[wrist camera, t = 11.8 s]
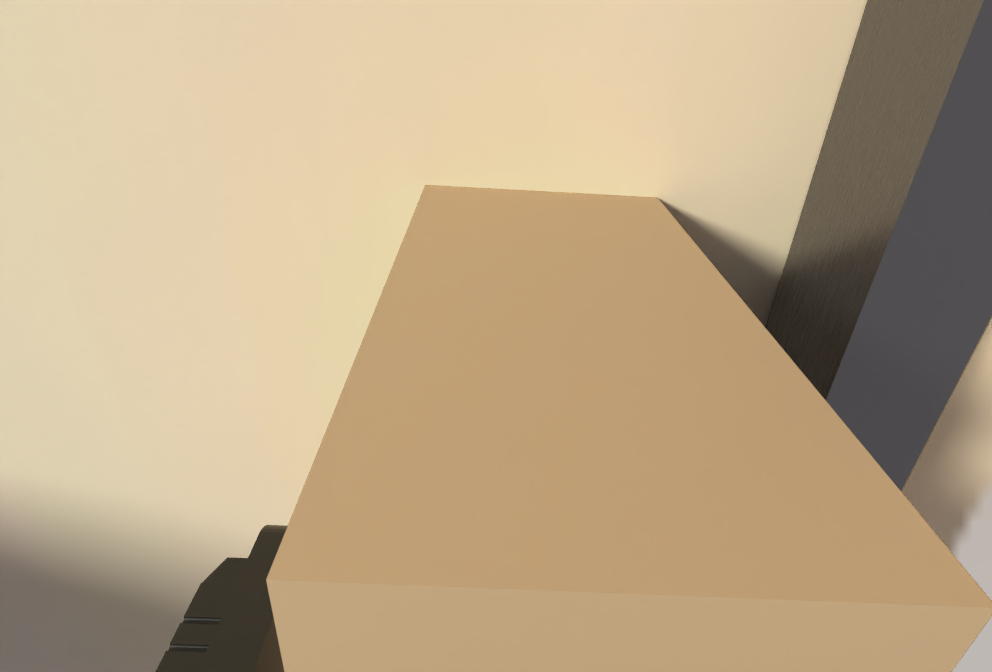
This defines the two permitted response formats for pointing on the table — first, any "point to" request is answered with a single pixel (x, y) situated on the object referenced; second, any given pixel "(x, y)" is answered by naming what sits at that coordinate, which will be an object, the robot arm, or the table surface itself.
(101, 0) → the table surface
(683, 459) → the carton
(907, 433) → the rail
